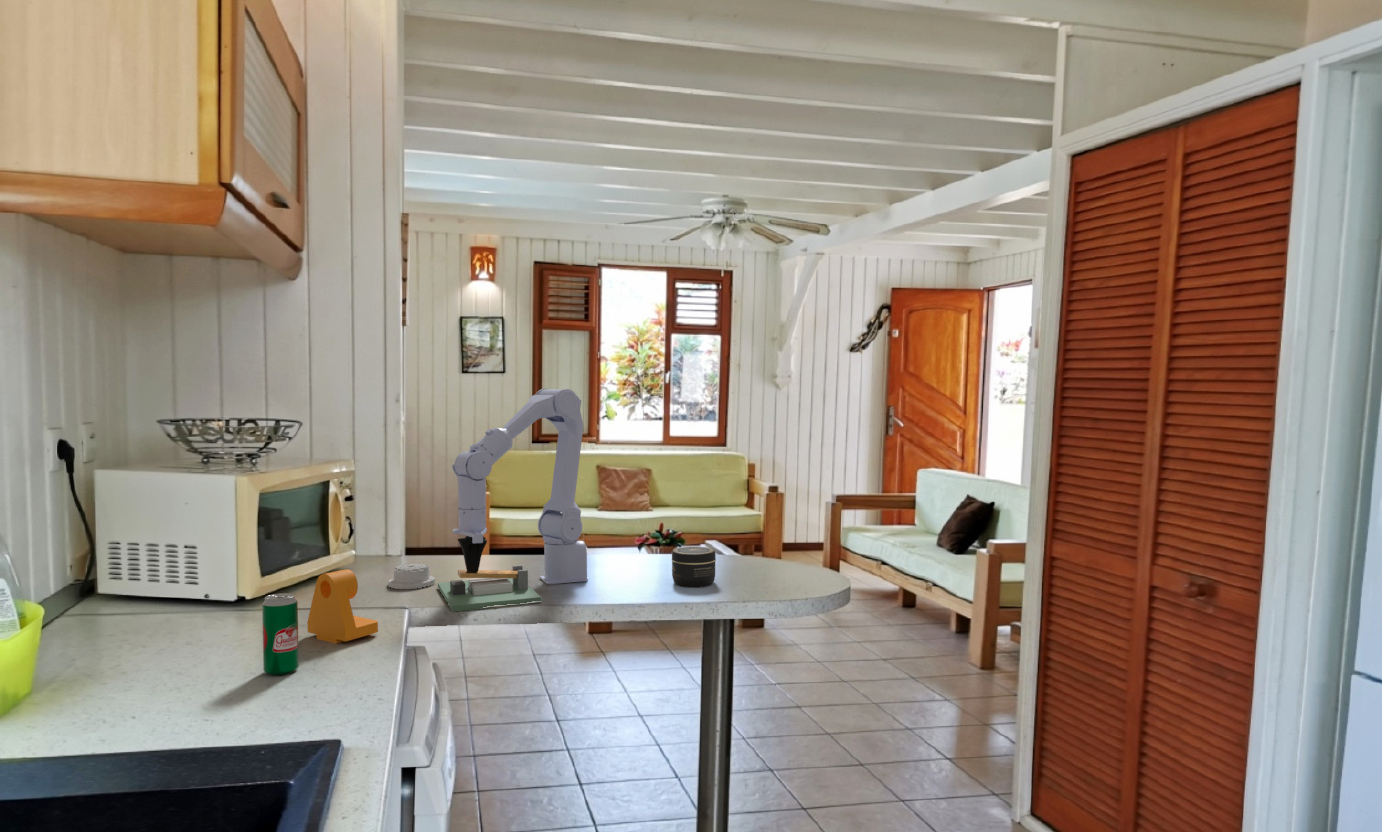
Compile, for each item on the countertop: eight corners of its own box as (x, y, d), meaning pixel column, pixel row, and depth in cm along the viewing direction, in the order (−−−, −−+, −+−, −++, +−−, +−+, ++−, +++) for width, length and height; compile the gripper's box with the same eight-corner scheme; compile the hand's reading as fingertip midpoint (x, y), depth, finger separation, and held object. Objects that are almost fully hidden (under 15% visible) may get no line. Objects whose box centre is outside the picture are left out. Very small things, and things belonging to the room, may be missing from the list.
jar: (664, 581, 204) (664, 548, 204) (702, 577, 208) (702, 544, 208) (684, 590, 195) (683, 555, 195) (723, 585, 200) (723, 551, 199)
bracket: (380, 636, 161) (379, 570, 160) (345, 646, 154) (344, 577, 154) (342, 627, 166) (341, 563, 166) (307, 636, 160) (306, 570, 160)
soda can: (276, 678, 137) (274, 601, 137) (256, 673, 140) (255, 597, 139) (305, 669, 141) (304, 594, 141) (286, 664, 144) (284, 591, 144)
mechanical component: (381, 590, 196) (426, 590, 196) (381, 571, 196) (426, 571, 196) (397, 580, 206) (440, 580, 206) (396, 562, 206) (439, 562, 206)
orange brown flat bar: (521, 575, 195) (521, 569, 195) (524, 579, 192) (525, 572, 192) (457, 575, 190) (458, 568, 190) (460, 579, 186) (460, 572, 186)
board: (518, 581, 204) (518, 558, 204) (541, 602, 184) (540, 577, 184) (437, 588, 197) (437, 564, 197) (451, 611, 177) (451, 585, 177)
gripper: (448, 504, 194) (448, 566, 194) (457, 513, 181) (458, 580, 181) (480, 503, 197) (481, 564, 197) (492, 511, 183) (493, 577, 184)
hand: (472, 571), depth 189 cm, fingers closed, pressing on orange brown flat bar
